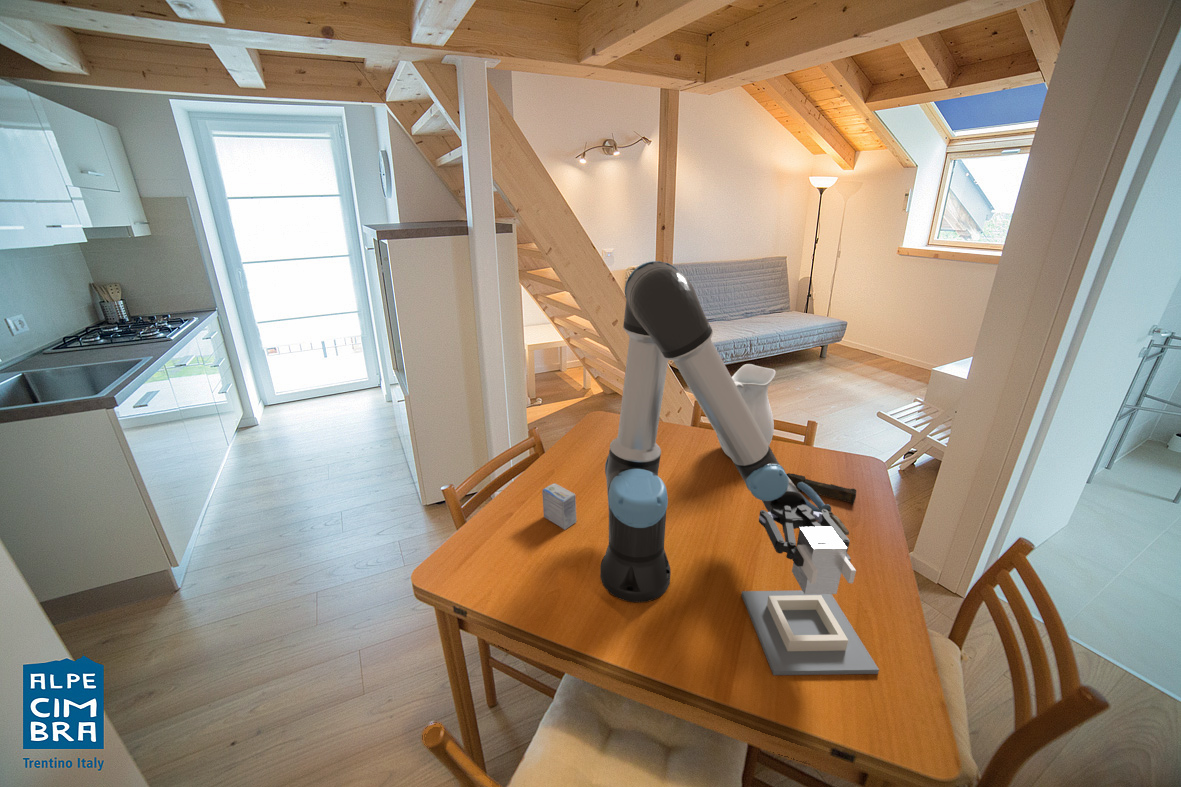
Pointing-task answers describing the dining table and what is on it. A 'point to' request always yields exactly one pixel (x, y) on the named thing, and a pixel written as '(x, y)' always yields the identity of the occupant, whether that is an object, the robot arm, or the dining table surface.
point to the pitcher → (756, 396)
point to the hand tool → (825, 488)
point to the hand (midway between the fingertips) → (833, 576)
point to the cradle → (806, 634)
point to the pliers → (820, 505)
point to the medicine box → (559, 505)
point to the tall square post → (821, 559)
